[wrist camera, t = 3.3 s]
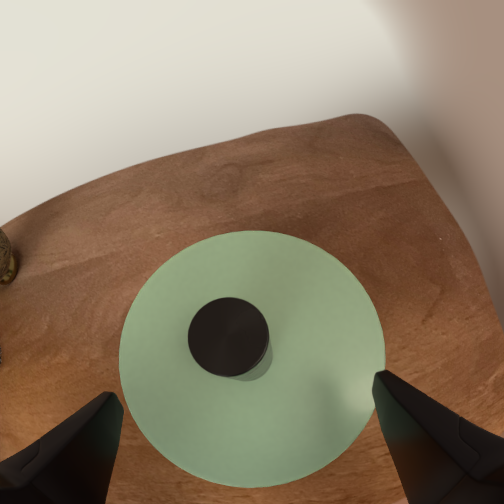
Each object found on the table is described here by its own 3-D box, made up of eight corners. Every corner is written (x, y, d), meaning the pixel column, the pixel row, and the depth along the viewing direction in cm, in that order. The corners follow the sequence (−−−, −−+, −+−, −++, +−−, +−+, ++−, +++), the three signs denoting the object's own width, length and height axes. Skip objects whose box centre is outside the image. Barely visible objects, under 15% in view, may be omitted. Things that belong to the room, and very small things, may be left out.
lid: (396, 449, 10) (461, 473, 5) (143, 481, 11) (75, 512, 5) (343, 223, 16) (365, 147, 11) (128, 260, 17) (73, 202, 11)
